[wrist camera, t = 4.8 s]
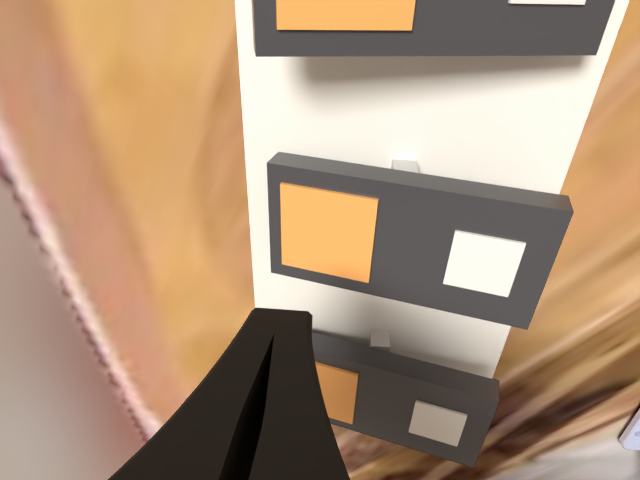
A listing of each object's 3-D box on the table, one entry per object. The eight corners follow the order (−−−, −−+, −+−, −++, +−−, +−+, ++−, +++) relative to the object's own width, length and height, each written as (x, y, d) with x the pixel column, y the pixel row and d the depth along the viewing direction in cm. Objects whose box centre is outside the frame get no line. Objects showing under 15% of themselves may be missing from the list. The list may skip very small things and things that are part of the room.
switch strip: (467, 404, 24) (478, 447, 22) (267, 388, 25) (258, 428, 23) (692, -269, 10) (775, -324, 8) (231, -275, 11) (200, -328, 9)
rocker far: (474, 446, 20) (473, 470, 19) (284, 390, 22) (275, 408, 21) (499, 380, 17) (499, 404, 16) (282, 324, 19) (272, 342, 19)
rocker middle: (525, 309, 15) (527, 332, 14) (280, 257, 17) (269, 274, 16) (568, 196, 13) (574, 214, 12) (278, 151, 15) (265, 164, 14)
